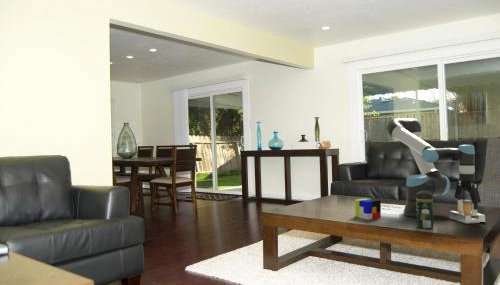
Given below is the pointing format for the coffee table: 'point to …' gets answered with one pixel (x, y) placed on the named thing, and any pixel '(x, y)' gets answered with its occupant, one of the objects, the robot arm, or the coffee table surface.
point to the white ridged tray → (466, 217)
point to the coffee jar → (424, 209)
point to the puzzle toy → (368, 208)
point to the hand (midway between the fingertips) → (467, 213)
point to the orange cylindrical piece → (467, 207)
